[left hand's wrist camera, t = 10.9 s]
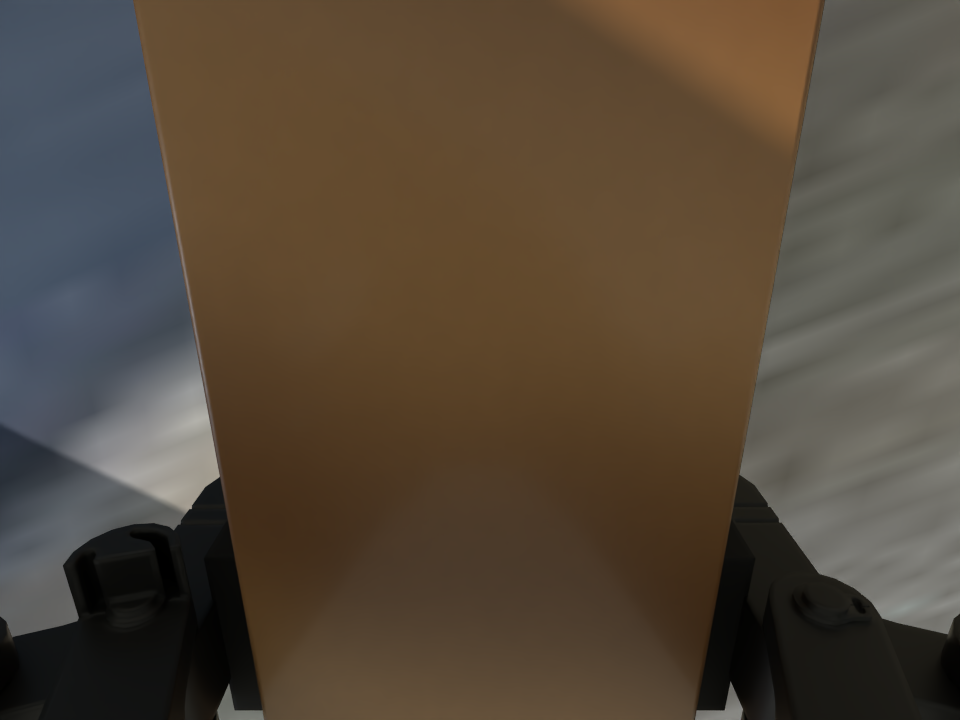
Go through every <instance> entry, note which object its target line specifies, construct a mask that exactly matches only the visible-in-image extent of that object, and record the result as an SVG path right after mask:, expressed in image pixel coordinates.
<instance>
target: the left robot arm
mask: <svg viewBox="0 0 960 720" xmlns="http://www.w3.org/2000/svg"><path fill="white" fill-rule="evenodd" d="M63 568H64V571H65V574H66V577H67V580H68V584H69V587H70V590H71V593H72V597H73V600H74V603H75V606H76V609H77V613H78V616H79V619H78V621H77V622H73V623H70V624H67V625H63V626H59V627H55V628H50V629H46V630H42V631H37V632H33V633H29V634H24V635H20V636H16V637H12V636H11V633H10V630H9V628H8V625H7V622H6V621H5V620H4V619H2V618H1V617H0V720H219V717H218V712H217V709H218V707H219V705H220V703H221V700H222V698H223V696H224V693H225V691H226V689H227V687H228V684H230V689H231V694H232V699H233V704H234V709H235V710H262V704H261V699H260V693H259V688H258V682H257V677H256V671H255V666H254V660H253V655H252V649H251V644H250V638H249V633H248V627H247V622H246V616H245V611H244V605H243V600H242V595H241V589H240V584H239V578H238V573H237V567H236V562H235V556H234V551H233V545H232V540H231V534H230V529H229V523H228V518H227V512H226V507H225V501H224V496H223V490H222V485H221V479H220V477H219V478H218V479H216V480H215V481H214V482H212V483H211V484H209V485H208V486H206V487H205V488H204V490H203V491H202V493H201V494H200V495H199V497H198V498H197V499H196V501H195V502H194V504H193V505H192V509H189V510H188V512H187V513H186V515H185V516H184V517H183V519H182V520H181V525H178V526H177V527H176V528H175V530H172V529H171V528H170V527H168V526H163V525H159V524H155V523H149V524H133V525H129V526H125V527H121V528H117V529H113V530H111V531H108V532H106V533H104V534H102V535H100V536H97V537H95V538H93V539H91V540H89V541H88V542H87V543H85V544H84V545H82V546H81V547H80V548H78V549H77V550H76V551H74V552H73V553H72V555H71V556H70V557H69V558H68V560H67V561H66V562H65V564H64V565H63ZM730 681H731V683H732V685H733V687H734V690H735V692H736V694H737V696H738V699H739V701H740V703H741V706H742V708H743V712H742V717H741V720H960V614H959V615H958V616H957V617H955V618H954V620H953V622H952V625H951V628H950V631H949V633H948V635H947V634H943V633H939V632H934V631H930V630H925V629H921V628H917V627H912V626H908V625H903V624H899V623H895V622H892V621H888V620H885V619H882V618H881V616H880V615H879V613H878V612H877V610H876V609H875V607H874V606H873V604H872V603H871V602H870V601H869V600H868V599H867V598H865V597H864V596H863V595H862V594H861V593H859V592H858V591H857V590H856V589H854V588H852V587H850V586H848V585H846V584H844V583H842V582H840V581H838V580H837V579H834V578H831V577H827V576H824V575H820V574H819V573H818V572H817V571H816V569H815V568H814V566H813V565H812V564H811V562H810V561H809V560H808V558H807V557H806V555H805V554H804V553H803V551H802V550H801V549H800V547H799V546H798V544H797V543H796V542H795V540H794V539H793V538H792V536H791V535H790V534H789V532H788V531H787V529H786V528H785V527H784V525H783V524H782V523H779V518H778V517H777V516H776V514H775V513H774V512H773V510H772V509H771V507H768V503H767V502H766V501H765V499H764V498H763V496H762V495H761V494H760V492H759V491H758V490H757V488H756V487H755V485H753V484H752V483H750V482H749V481H748V480H746V479H745V478H743V477H742V476H740V475H739V478H738V484H737V489H736V495H735V500H734V506H733V511H732V517H731V522H730V528H729V533H728V539H727V545H726V550H725V556H724V561H723V567H722V572H721V578H720V583H719V589H718V594H717V600H716V605H715V611H714V616H713V622H712V627H711V633H710V638H709V644H708V650H707V655H706V661H705V666H704V672H703V677H702V683H701V688H700V694H699V699H698V705H697V710H725V706H726V701H727V696H728V691H729V686H730Z"/></svg>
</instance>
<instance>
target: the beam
mask: <svg viewBox="0 0 960 720" xmlns="http://www.w3.org/2000/svg"><path fill="white" fill-rule="evenodd" d="M133 2H134V7H135V13H136V18H137V24H138V29H139V35H140V40H141V46H142V51H143V57H144V62H145V68H146V73H147V79H148V84H149V90H150V95H151V101H152V106H153V112H154V117H155V123H156V128H157V134H158V139H159V145H160V150H161V156H162V161H163V166H164V172H165V177H166V183H167V188H168V194H169V199H170V205H171V210H172V216H173V221H174V227H175V232H176V238H177V243H178V249H179V254H180V260H181V265H182V271H183V276H184V282H185V287H186V293H187V298H188V304H189V309H190V315H191V320H192V326H193V331H194V337H195V342H196V348H197V353H198V359H199V364H200V370H201V375H202V381H203V386H204V391H205V397H206V402H207V408H208V413H209V419H210V424H211V430H212V435H213V441H214V446H215V452H216V457H217V463H218V468H219V474H220V479H221V485H222V490H223V496H224V501H225V507H226V512H227V518H228V523H229V529H230V534H231V540H232V545H233V551H234V556H235V562H236V567H237V573H238V578H239V584H240V589H241V595H242V600H243V605H244V611H245V616H246V622H247V627H248V633H249V638H250V644H251V649H252V655H253V660H254V666H255V671H256V677H257V682H258V688H259V693H260V699H261V704H262V710H263V715H264V720H695V716H696V710H697V705H698V699H699V694H700V688H701V683H702V677H703V672H704V666H705V661H706V655H707V650H708V644H709V638H710V633H711V627H712V622H713V616H714V611H715V605H716V600H717V594H718V589H719V583H720V578H721V572H722V567H723V561H724V556H725V550H726V545H727V539H728V533H729V528H730V522H731V517H732V511H733V506H734V500H735V495H736V489H737V484H738V478H739V473H740V467H741V462H742V456H743V451H744V445H745V440H746V434H747V428H748V423H749V417H750V412H751V406H752V401H753V395H754V390H755V384H756V379H757V373H758V368H759V362H760V357H761V351H762V346H763V340H764V335H765V329H766V323H767V318H768V312H769V307H770V301H771V296H772V290H773V285H774V279H775V274H776V268H777V263H778V257H779V252H780V246H781V241H782V235H783V230H784V224H785V218H786V213H787V207H788V202H789V196H790V191H791V185H792V180H793V174H794V169H795V163H796V158H797V152H798V147H799V141H800V136H801V130H802V125H803V119H804V113H805V108H806V102H807V97H808V91H809V86H810V80H811V75H812V69H813V64H814V58H815V53H816V47H817V42H818V36H819V31H820V25H821V20H822V14H823V8H824V3H825V0H133Z"/></svg>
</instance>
